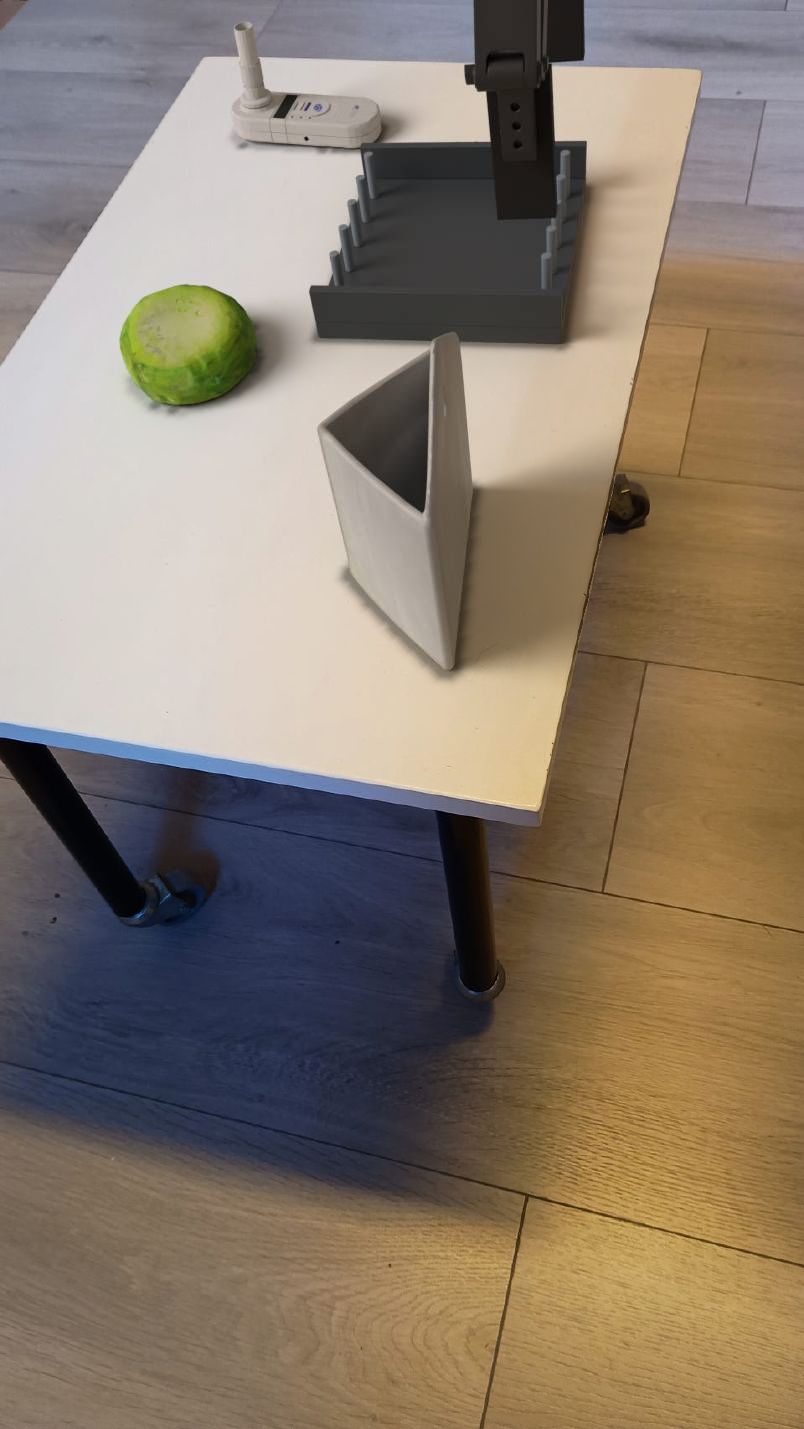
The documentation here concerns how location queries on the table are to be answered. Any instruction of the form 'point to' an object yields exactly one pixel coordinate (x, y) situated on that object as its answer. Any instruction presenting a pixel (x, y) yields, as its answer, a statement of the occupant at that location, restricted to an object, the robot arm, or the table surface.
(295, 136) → the electronic device
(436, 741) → the table surface
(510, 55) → the robot arm
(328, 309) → the dish rack
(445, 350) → the planter
